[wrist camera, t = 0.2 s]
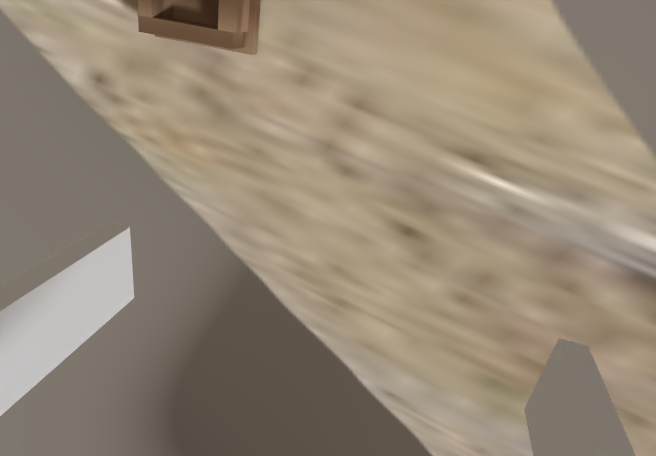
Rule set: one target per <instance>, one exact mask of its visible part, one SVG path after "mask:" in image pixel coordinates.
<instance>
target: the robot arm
mask: <svg viewBox="0 0 656 456" xmlns="http://www.w3.org/2000/svg"><path fill="white" fill-rule="evenodd" d="M133 298H134V287H133V271H132V257H131V240H130V227H127V226H123V225H119V224H115V223H111V222H107V223H105V224H104V225H102V226H100V227H98V228H97V229H95V230H94V231H92V232H90V233H88V234H87V235H85V236H83V237H82V238H80V239H78V240H77V241H75V242H73V243H71V244H70V245H68V246H66V247H65V248H63V249H61V250H60V251H58V252H56V253H55V254H53V255H51V256H50V257H48V258H46V259H44V260H43V261H41V262H39V263H38V264H36V265H34V266H32V267H31V268H29V269H28V270H26V271H24V272H22V273H21V274H19V275H17V276H16V277H14V278H12V279H10V280H9V281H7V282H6V283H4V284H2V285H0V416H1V415H2V414H3V413H4V412H5V411H6V410H8V408H10V407H11V406H12V405H13V404H14V403H15V402H16V401H18V400H19V399H20V398H21V397H22V396H23V395H25V394H26V393H27V392H28V391H29V390H30V389H31V388H32V387H34V386H35V385H36V384H37V383H38V382H39V381H40V380H41V379H43V378H44V377H45V376H46V375H47V374H48V373H49V372H51V371H52V370H53V369H54V368H55V367H56V366H57V365H58V364H60V363H61V362H62V361H63V360H64V359H65V358H66V357H68V356H69V355H70V354H71V353H72V352H73V351H74V350H76V349H77V348H78V347H79V346H80V345H81V344H82V343H83V342H85V341H86V340H87V339H88V338H89V337H90V336H91V335H92V334H94V333H95V332H96V331H97V330H98V329H99V328H100V327H102V326H103V325H104V324H105V323H106V322H107V321H108V320H109V319H111V318H112V317H113V316H114V315H115V314H116V313H117V312H119V311H120V310H121V309H122V308H123V307H124V306H125V305H126V304H127V303H128V302H130V301H131V300H132V299H133ZM524 410H525V415H526V420H527V425H528V430H529V435H530V440H531V445H532V450H533V455H534V456H636V455H635V453H634V451H633V448H632V446H631V444H630V442H629V439H628V437H627V435H626V432H625V430H624V428H623V425H622V423H621V421H620V418H619V416H618V414H617V412H616V409H615V407H614V405H613V402H612V400H611V398H610V395H609V393H608V391H607V389H606V386H605V384H604V382H603V379H602V377H601V375H600V372H599V370H598V368H597V365H596V363H595V361H594V359H593V356H592V354H591V352H590V349H589V347H588V346H586V345H582V344H578V343H575V342H571V341H567V340H563V339H558V341H557V343H556V345H555V347H554V349H553V351H552V353H551V355H550V357H549V359H548V361H547V363H546V366H545V368H544V370H543V372H542V374H541V376H540V378H539V380H538V382H537V384H536V386H535V388H534V390H533V392H532V394H531V396H530V398H529V400H528V403H527V405H526V407H525V409H524Z"/></svg>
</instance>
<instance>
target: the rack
mask: <svg viewBox="0 0 656 456" xmlns="http://www.w3.org/2000/svg"><path fill="white" fill-rule="evenodd" d="M259 13H260V0H138V22H139V32H144V33H150V34H155V36H157V37H162V38H167V39H173V40H178V41H183V42H188V43H194V44H199V45H204V46H209V47H215V48H220V49H225V50H230V51H236V52H241V53H246V54H251V55H253V54H257V41H258V27H259Z"/></svg>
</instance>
